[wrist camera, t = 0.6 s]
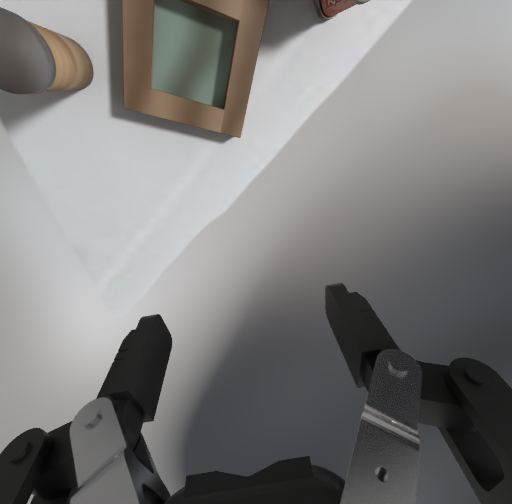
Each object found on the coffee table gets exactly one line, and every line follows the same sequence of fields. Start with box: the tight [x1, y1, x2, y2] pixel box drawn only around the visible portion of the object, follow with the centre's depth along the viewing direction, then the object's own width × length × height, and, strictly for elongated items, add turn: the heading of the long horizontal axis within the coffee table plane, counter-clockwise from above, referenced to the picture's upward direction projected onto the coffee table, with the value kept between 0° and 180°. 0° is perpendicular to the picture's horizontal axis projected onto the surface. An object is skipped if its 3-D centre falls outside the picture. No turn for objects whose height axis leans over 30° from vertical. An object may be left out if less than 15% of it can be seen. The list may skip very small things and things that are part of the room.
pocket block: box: [123, 0, 269, 138], centre depth 26 cm, size 13×13×2 cm
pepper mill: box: [0, 7, 93, 94], centre depth 20 cm, size 5×5×11 cm
